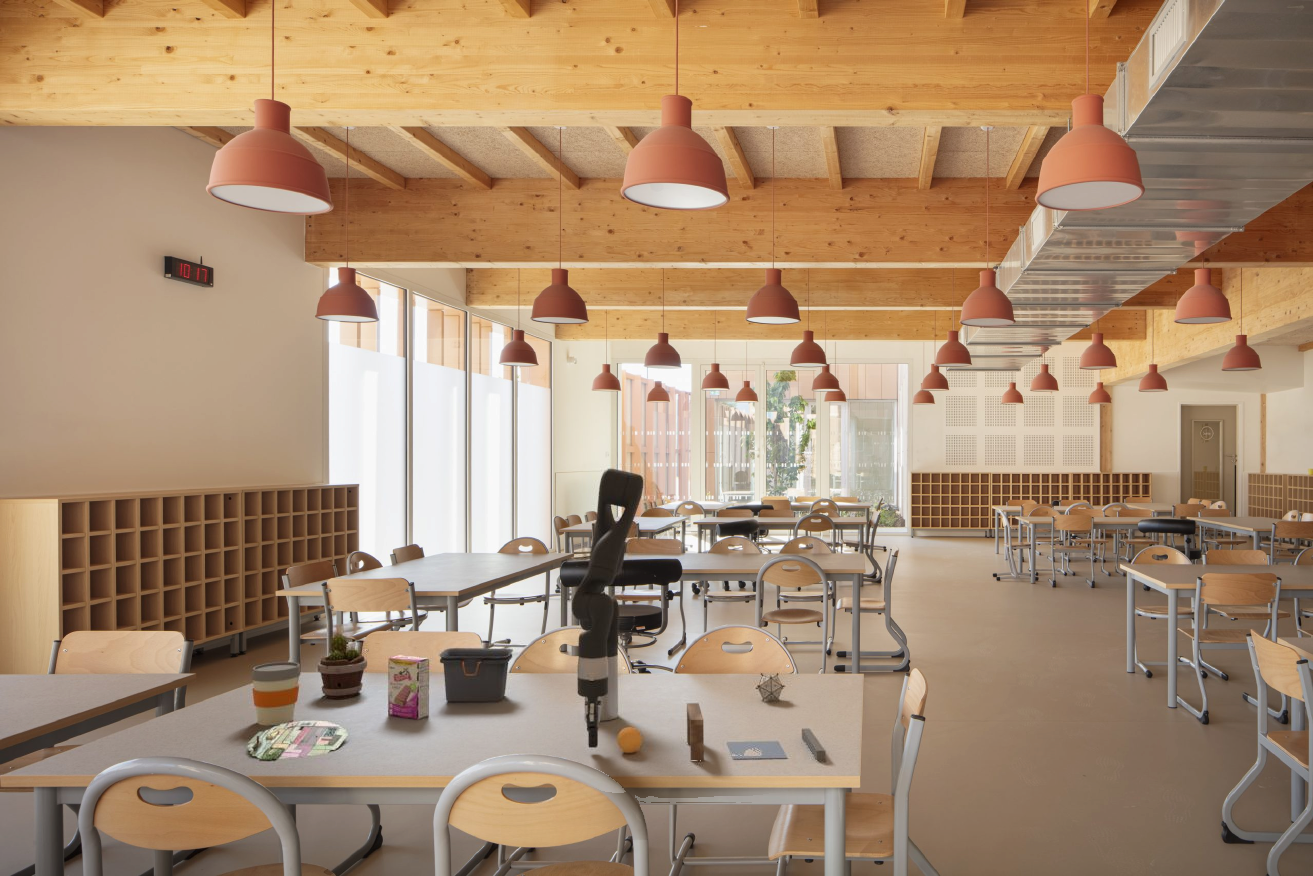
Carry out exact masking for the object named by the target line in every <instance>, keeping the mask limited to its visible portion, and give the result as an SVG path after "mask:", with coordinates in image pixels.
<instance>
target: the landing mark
mask: <svg viewBox="0 0 1313 876" xmlns="http://www.w3.org/2000/svg"><path fill="white" fill-rule="evenodd" d="M726 744H727V747H728V750H729V749H730V750H729V752H731V753H732V754H735V755H738V756H731V758H732V760H733V759H735V760H783V758H785V759H784V760H786V758H787V759H788V756H787V755H786V753H785V750H784V749H783V747H782V745H781V743H780V742H779V740H777V741H776V740H770V741H768V740H765V741H763V740H762V741H758V740H757V741H726ZM752 748H753V749H754V750H753V751H755V750H757V749H759V750H761V751H762V752H761V751H759V750H757V751H759V752H761V753H762V755H761V756H744V753H745V751H746V750H748V749H751V750H752ZM755 748H757V749H755ZM755 752H756V751H755ZM731 753H730V755H732V754H731ZM757 753H758V752H757ZM739 754H740V755H742V756H740V755H739ZM759 754H760V753H759ZM781 758H782V759H781Z"/></svg>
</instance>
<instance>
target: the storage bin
mask: <svg viewBox="0 0 1313 876" xmlns="http://www.w3.org/2000/svg"><path fill="white" fill-rule="evenodd" d="M513 652H514V649H513V648H512V649H511V648H488V647H487V648H485V647H484V648H480V647H479V648H478V647H476V648H475V647H473V648H472V647H467V648H466V647H453V648H452V647H451V648H446V649H444V650H443V651H442V652H441V653H440V654H438V656H439V657H440V659H439V663H441V664H443V674H444V676H443V677H444V689H445V700H446V701H447V702H450V703H452V702H453V703H454V702H456V703H457V702H458V703H459V702H461V703H462V702H463V703H464V702H465V703H466V702H469V703H470V702H472V703H473V702H475V703H476V702H477V703H478V702H479V703H482V702H483V703H487V702H488V703H491V702H492V703H497V702H501V701H502V699H503V698H504V696H505V694H506V689H507V676H508V669H509V668H508V667H509V662H510V660H511V659H512V658H513Z"/></svg>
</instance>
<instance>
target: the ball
mask: <svg viewBox="0 0 1313 876" xmlns="http://www.w3.org/2000/svg"><path fill="white" fill-rule="evenodd" d="M616 740H617V741H616V742H617V746H618V748H619V749H620V750H621V751H622V752H624V753H626V754H633V753H636V752H637V751H638V750H639V749H640V748H641V745H642V741H643V737H642V734H641V732H640V731H639V730H638V729H637V728H636V727H633V726H626V727H625V728H622V729H621V730H620V731H619V733H618V736H617V739H616Z"/></svg>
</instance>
